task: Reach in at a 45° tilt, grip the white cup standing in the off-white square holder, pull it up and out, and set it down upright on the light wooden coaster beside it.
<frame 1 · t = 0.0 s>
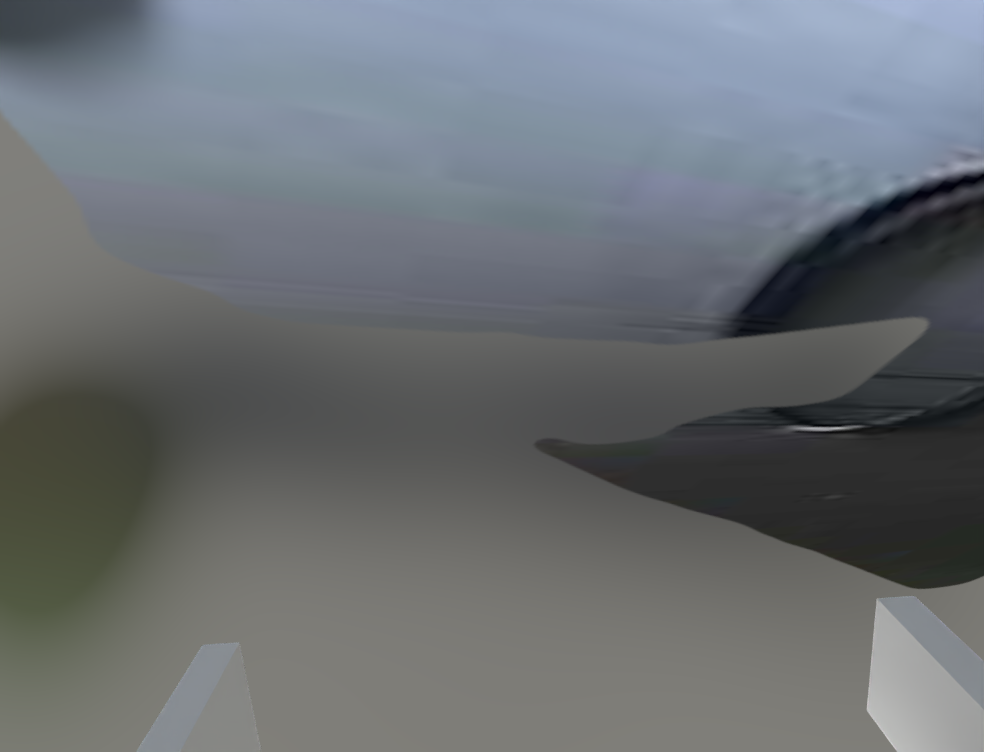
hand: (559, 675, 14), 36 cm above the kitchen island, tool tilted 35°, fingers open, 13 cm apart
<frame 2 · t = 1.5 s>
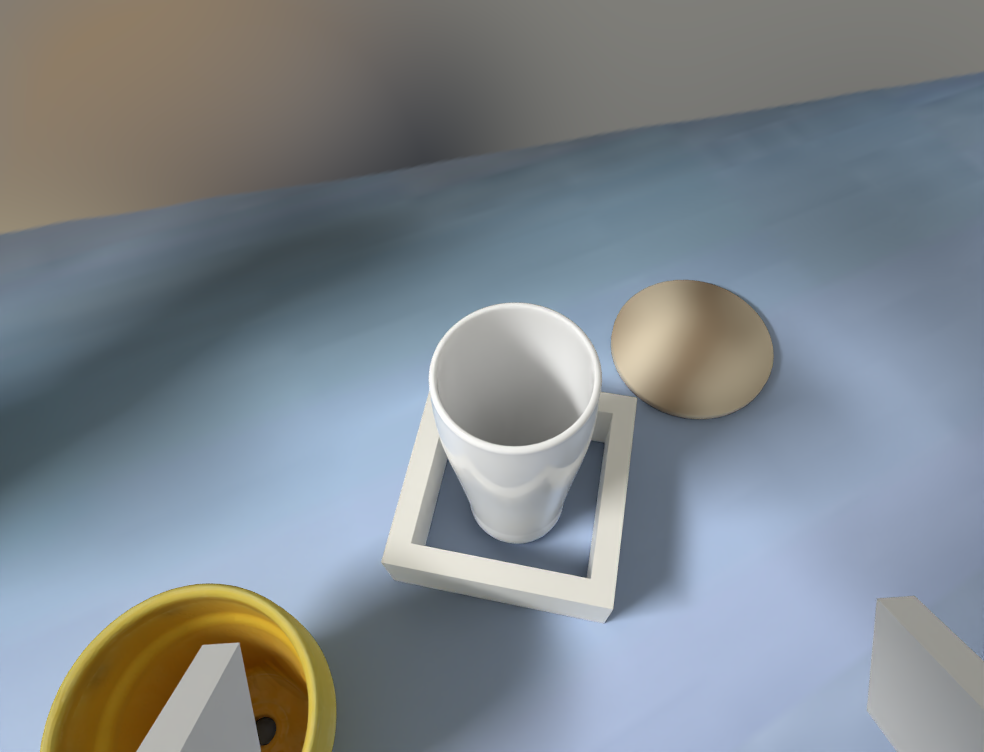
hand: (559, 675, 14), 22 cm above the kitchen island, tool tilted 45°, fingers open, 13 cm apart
white cup: (516, 501, 39), resting in square holder
wooden coaster: (689, 348, 43), on the kitchen island
square holder: (516, 500, 39), on the kitchen island
plant pot: (267, 731, 34), on the kitchen island
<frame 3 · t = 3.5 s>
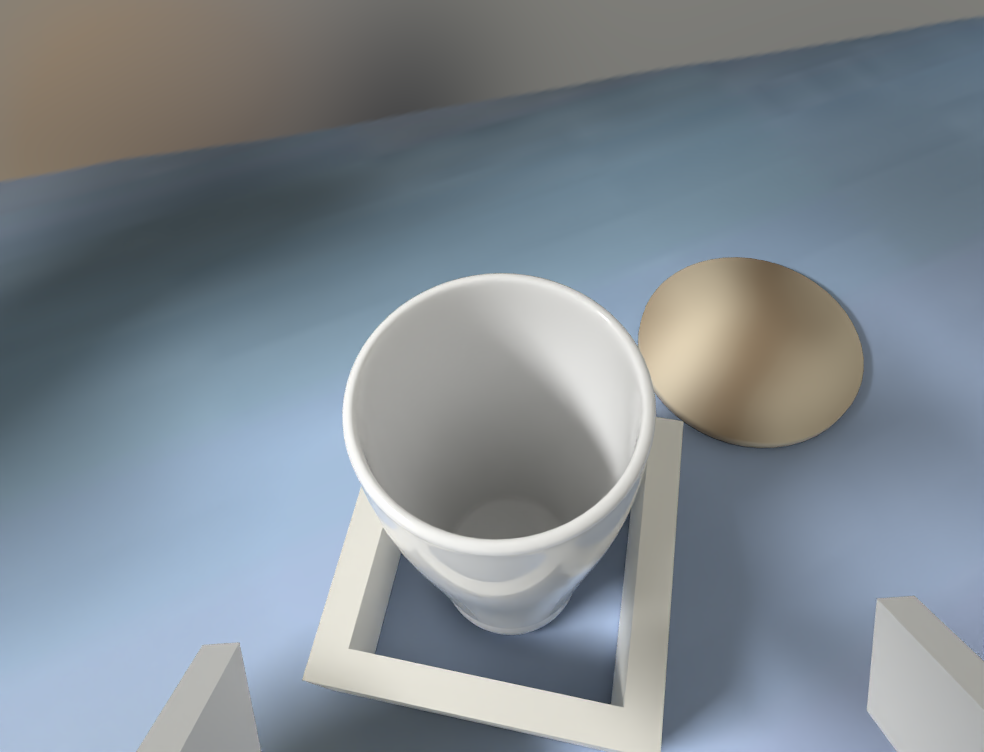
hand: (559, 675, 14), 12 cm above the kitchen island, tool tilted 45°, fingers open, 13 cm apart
white cup: (510, 568, 27), resting in square holder
wooden coaster: (745, 349, 32), on the kitchen island
square holder: (510, 567, 27), on the kitchen island
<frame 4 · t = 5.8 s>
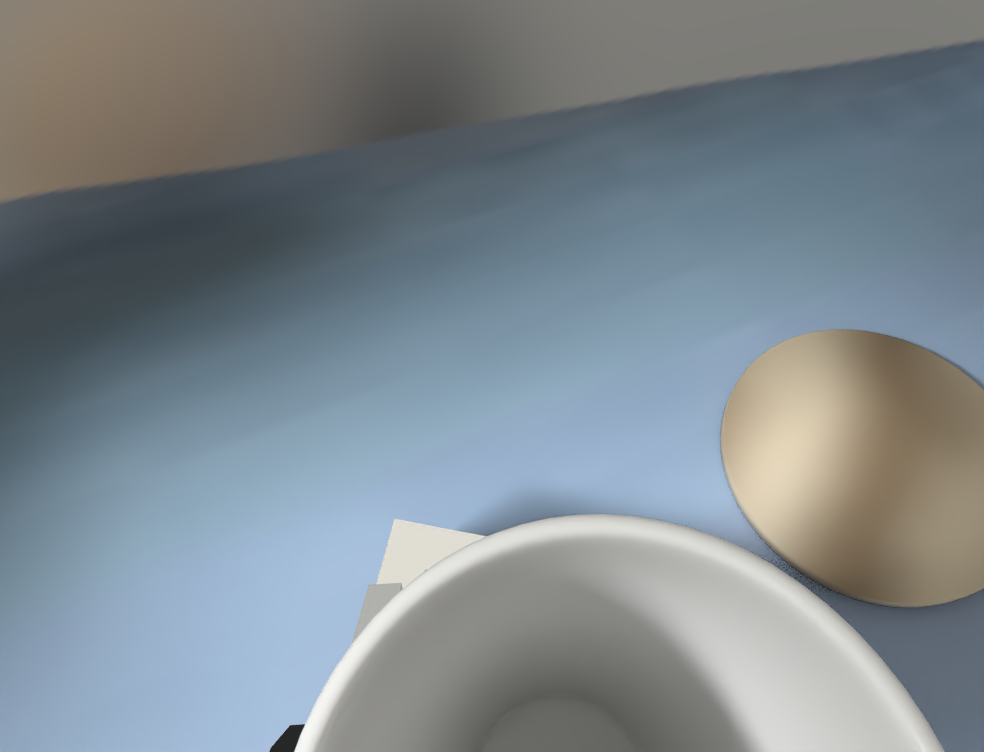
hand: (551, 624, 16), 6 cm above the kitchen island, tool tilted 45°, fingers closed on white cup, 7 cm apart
wooden coaster: (866, 458, 24), on the kitchen island
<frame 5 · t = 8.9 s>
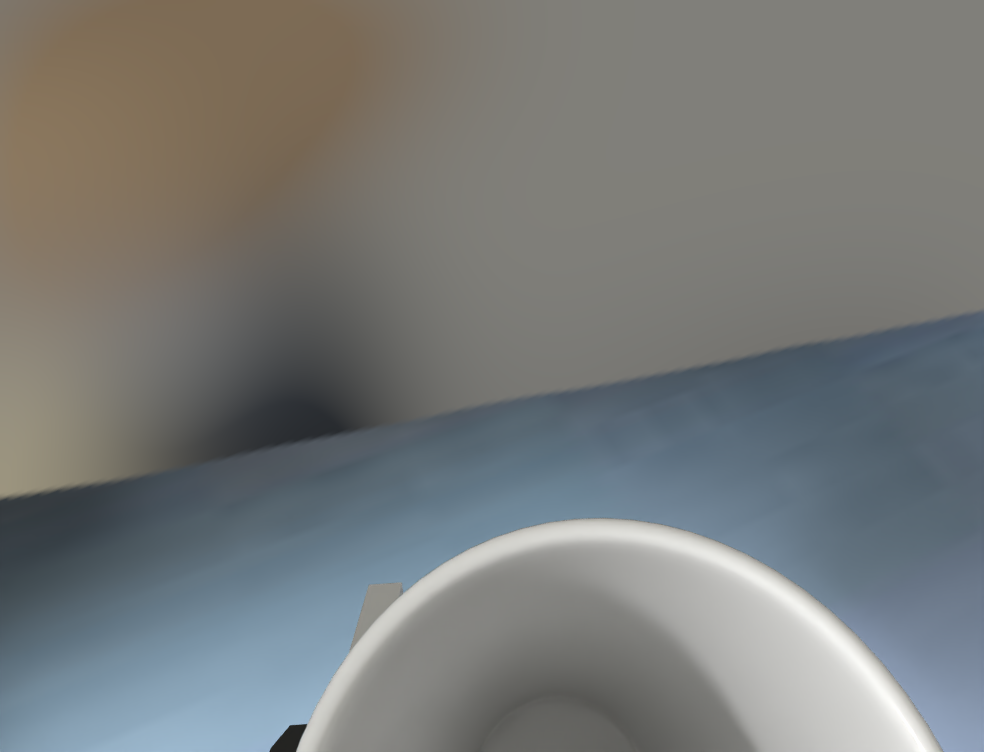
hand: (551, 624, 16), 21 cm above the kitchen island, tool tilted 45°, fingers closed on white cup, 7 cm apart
when the fingers open (7 cm above the kitchen island, at t = 11.8 s): white cup stays where it is, resting on wooden coaster.
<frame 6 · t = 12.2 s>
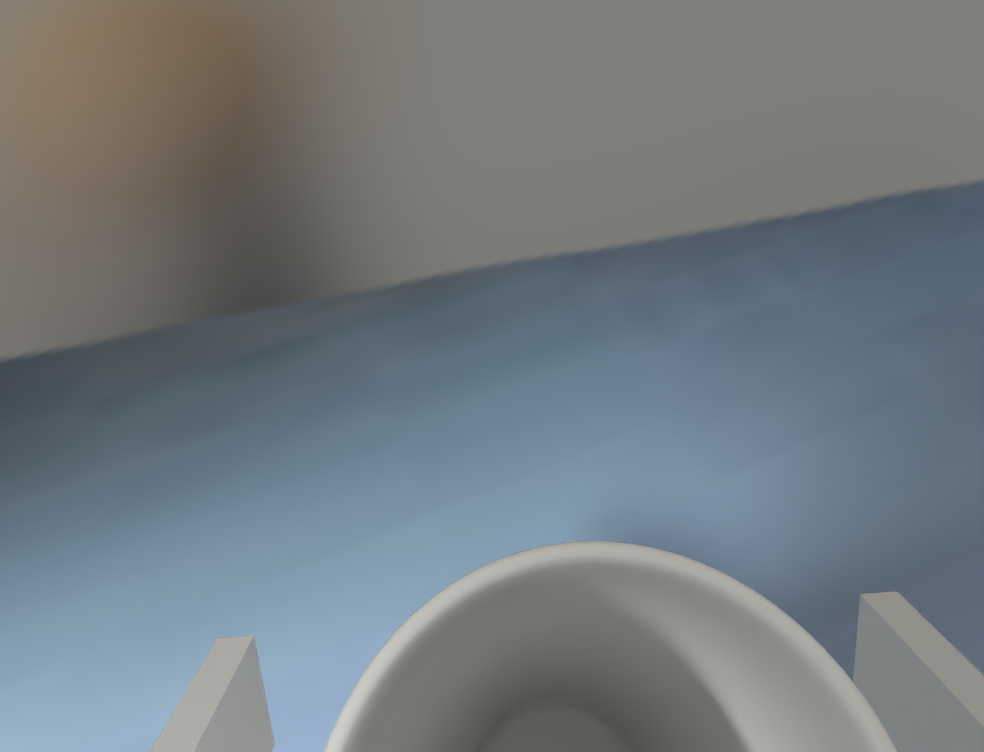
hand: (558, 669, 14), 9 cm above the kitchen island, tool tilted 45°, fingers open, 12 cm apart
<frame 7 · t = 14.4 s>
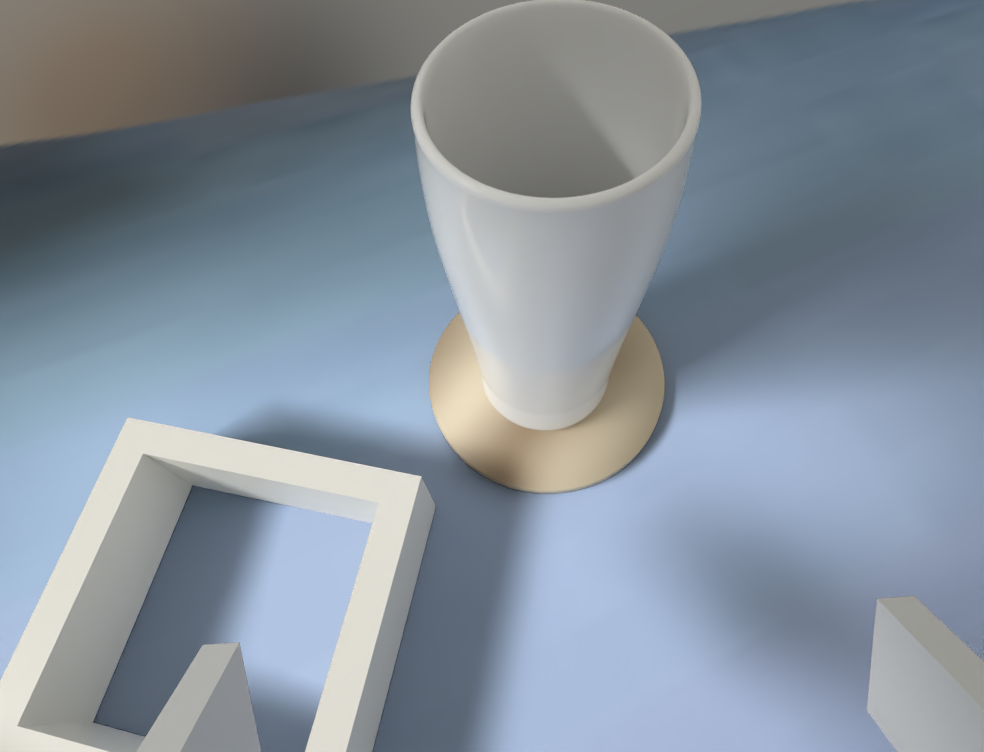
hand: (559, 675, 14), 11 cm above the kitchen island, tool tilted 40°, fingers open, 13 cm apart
white cup: (544, 379, 29), resting on wooden coaster
wooden coaster: (545, 381, 29), on the kitchen island
square holder: (253, 621, 26), on the kitchen island
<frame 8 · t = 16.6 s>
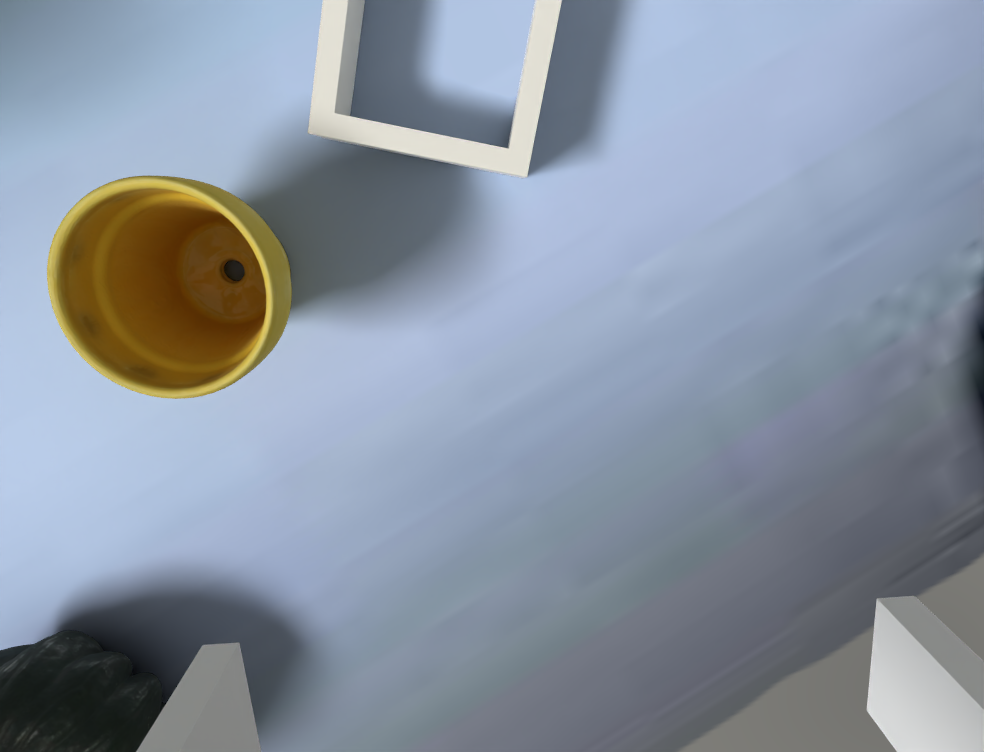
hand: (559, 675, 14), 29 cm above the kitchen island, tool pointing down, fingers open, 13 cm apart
squash: (98, 693, 48), on the kitchen island
square holder: (442, 51, 37), on the kitchen island
plant pot: (237, 268, 40), on the kitchen island
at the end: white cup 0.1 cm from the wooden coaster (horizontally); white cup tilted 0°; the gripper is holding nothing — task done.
